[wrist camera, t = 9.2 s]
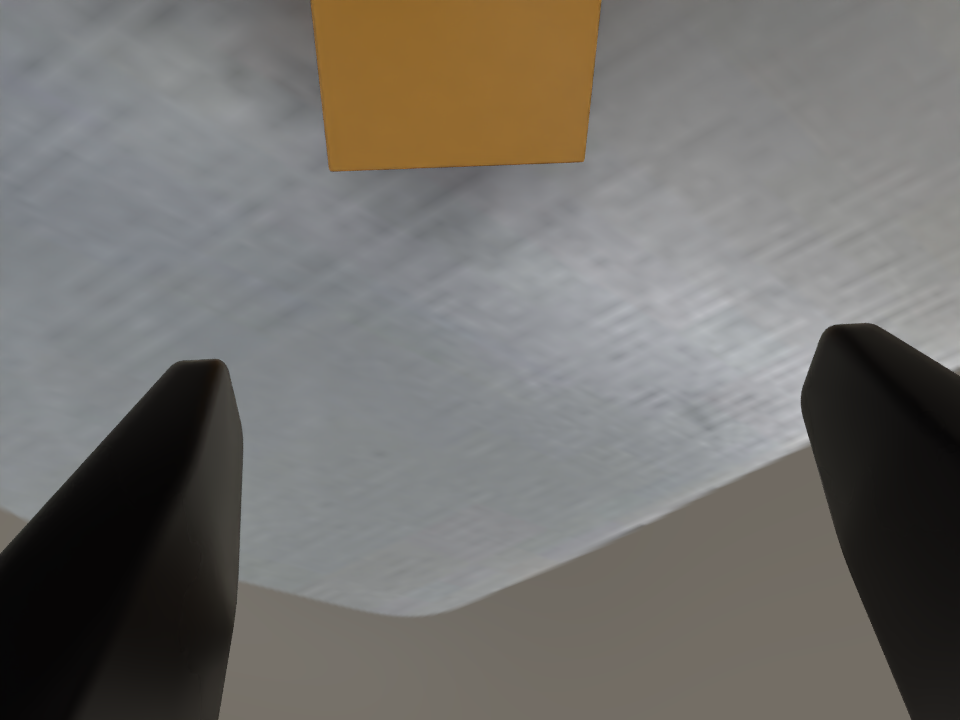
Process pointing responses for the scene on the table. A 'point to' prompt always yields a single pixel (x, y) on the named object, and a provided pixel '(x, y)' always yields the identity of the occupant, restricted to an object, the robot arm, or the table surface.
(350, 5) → the brass block
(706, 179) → the table surface
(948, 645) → the robot arm
